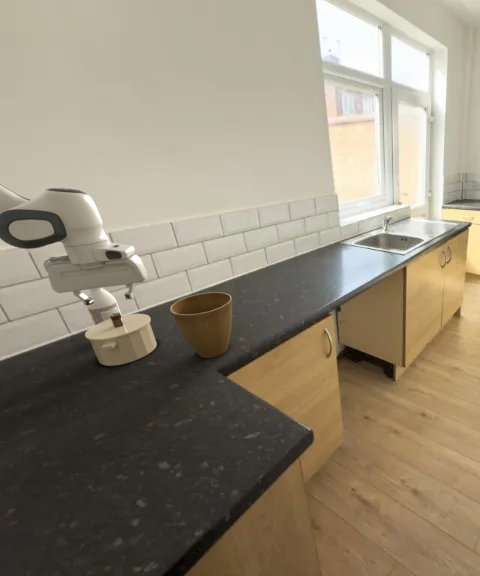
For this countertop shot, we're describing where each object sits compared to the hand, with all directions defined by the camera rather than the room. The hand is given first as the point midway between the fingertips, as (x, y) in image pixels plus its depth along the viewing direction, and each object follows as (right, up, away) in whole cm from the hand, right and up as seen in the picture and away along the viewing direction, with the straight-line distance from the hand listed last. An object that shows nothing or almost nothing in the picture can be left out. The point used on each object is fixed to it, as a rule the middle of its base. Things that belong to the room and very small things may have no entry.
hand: (110, 301), depth 88 cm
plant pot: (+26, -15, +6) cm, 30 cm away
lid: (0, -8, +3) cm, 8 cm away
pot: (0, -15, +6) cm, 17 cm away
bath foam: (-12, -12, +15) cm, 23 cm away
